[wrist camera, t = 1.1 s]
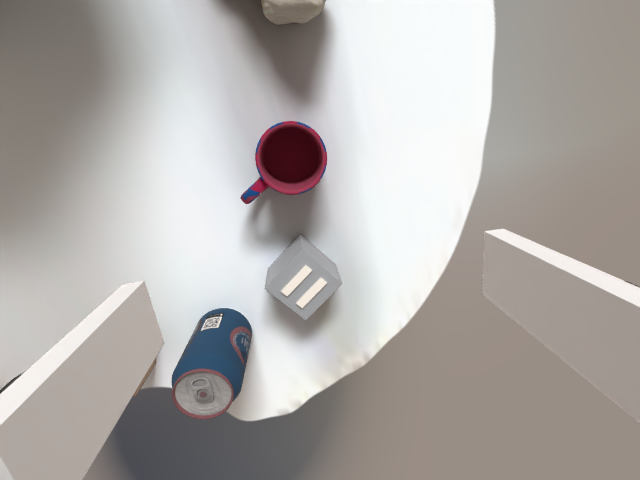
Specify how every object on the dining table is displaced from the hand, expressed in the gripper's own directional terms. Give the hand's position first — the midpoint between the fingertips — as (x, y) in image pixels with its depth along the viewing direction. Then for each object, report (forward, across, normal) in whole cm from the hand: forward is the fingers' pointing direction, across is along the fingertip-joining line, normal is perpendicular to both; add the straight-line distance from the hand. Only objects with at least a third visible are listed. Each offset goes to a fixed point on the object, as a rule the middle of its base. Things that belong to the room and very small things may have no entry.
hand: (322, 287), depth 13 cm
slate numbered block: (+27, -1, -10) cm, 29 cm away
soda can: (+27, -12, -17) cm, 34 cm away
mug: (+27, -2, +3) cm, 27 cm away
